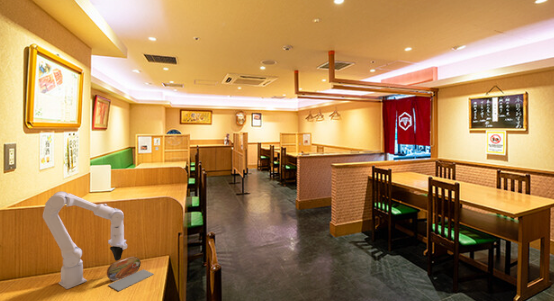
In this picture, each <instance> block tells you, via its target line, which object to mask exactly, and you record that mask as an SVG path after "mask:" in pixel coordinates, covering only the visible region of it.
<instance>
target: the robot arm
mask: <svg viewBox="0 0 554 301" xmlns="http://www.w3.org/2000/svg"><path fill="white" fill-rule="evenodd" d="M65 205H66V208H67V207H72V206H77V207H78V208H82V209H85V210H89V211H90V212H91V211H92V212H93V215H94V216H98V217H100V218H103V219H106V220H109V221H110V239H108V240H107V242H108V243H107V244H109V245H110V247H109V249H110V250H111V252H112V254H113V258H114V261H115V262H118V261H121V259H122V255H123V252H124V250H126V249H127V248H128V244H127V243H126V242H127V239H125V226H124V224H125V223H124V219H125V216H124V215H125V214H124V212H123V211H122V210H121V209H120V208H116V207H114V208H113V207H112V206H109V205H108V204H107V203H98V204H96V203H94V202H92V201H89V200H87V199H85V198H82V197H79V196H77V195H75V194H73V193H68V192H66V191H57V192H54V193H53V195H51V196H50V197H49V198H48V199H47V201H46V202H45V205H44V209H43V213H42V219H43V221H44V223H45V224H46V226H47V228H48V229H49V231H50V233H51V235H52V236H53V238H54V241H55V242H56V243H57V245H58V247H59V249H60V253H61V257H62V266H61V267H60V268H61V269H60V281H59V282H58V284H59V285H60V286H61V287H63V288H64V289H66V290H69V289H71V288H74V287H76V286H79V285H81V284H83V283H86V282H87V279H86V278H85V277H84V265H83V262H84V261H83V260H82V259H81V258H82V256H83V250H82V249H81V248H80V247H78V246H77V244H76V243H75V242H74V241H73V240H72V237H71V236H70V234H69V232H68V229H67V228H66V226H65V225H64V222H63V221H62V219H61V217H60V215H59V213H60V211H61V209H62V208H63V207H64V206H65Z"/></svg>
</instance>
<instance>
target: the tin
mask: <svg viewBox="0 0 554 301" xmlns="http://www.w3.org/2000/svg"><path fill="white" fill-rule="evenodd" d="M141 264H142V262H141V260H140V258H139V257H136V256H129V257H126V258H124V259H122V260H121V259H120V260H118V261H115V262H113V263H111V264H110V265H109V266H108V268H107V269H106V277H107V278H108V279H109V280H110V281H114V282H116V281H118V280H120V279H123V278H125V277H127V276H129V275H132V274H134V273H136V272H138V271H139V270H140V268H141Z"/></svg>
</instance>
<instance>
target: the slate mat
mask: <svg viewBox="0 0 554 301" xmlns="http://www.w3.org/2000/svg"><path fill="white" fill-rule="evenodd" d="M154 274H155V273H152V272H150V271H148V270H146V269H144V268H143V269H141V270H138V271H137V272H136V273H134V274H132V275H129V276H127V277H124V278H122V279H119V280H116V281H114V282H112V283H110V284H108V285H107V286H108V287H110V288H112V289H114V290H115V291H117V292H121V291H123V290H125V289H127V288H129V287H131V286H133V285H136V284H137V283H140V282H141V281H144V280H146V279H147V278H150V277H152V276H154Z"/></svg>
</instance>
